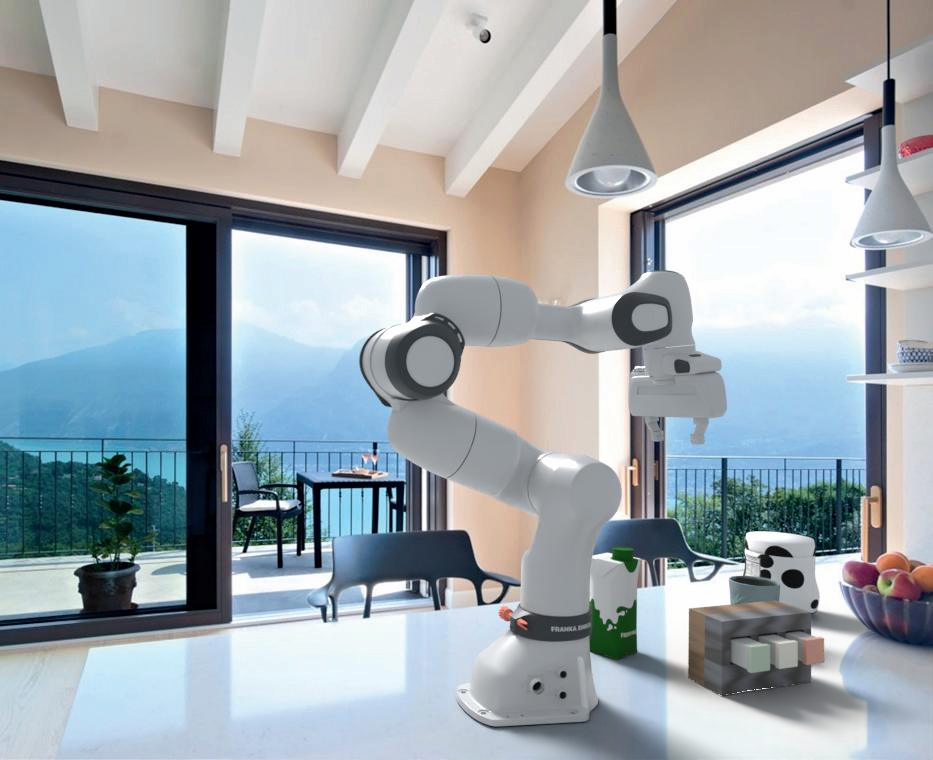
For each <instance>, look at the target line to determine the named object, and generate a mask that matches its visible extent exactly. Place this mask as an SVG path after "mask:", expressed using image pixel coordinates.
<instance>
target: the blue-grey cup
mask: <svg viewBox="0 0 933 760" xmlns="http://www.w3.org/2000/svg"><path fill="white" fill-rule="evenodd" d="M728 585H729V586H728V587H729V601H730V605H731V604H742V603H753V602H763V601H774V600H775V601H778V602H779V597H780V583H779V582H778V581H775V580H772V579H768V578H762V577H754V576H743V575H733V576H730V577H728Z"/></svg>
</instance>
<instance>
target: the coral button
mask: <svg viewBox="0 0 933 760" xmlns="http://www.w3.org/2000/svg"><path fill="white" fill-rule="evenodd" d="M785 639H788V640H790V641H791V640H795V641H797V642H798V660H800V661H802V662H803V664H805V665H811V666H812V665H815V664H816V665H817V664H823V663H825V638H824V637H822V636H815V635H812V634H811V635H809V634H806V633H804V632H801V631H796V632H787V633H785Z"/></svg>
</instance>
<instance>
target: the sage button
mask: <svg viewBox="0 0 933 760" xmlns="http://www.w3.org/2000/svg"><path fill="white" fill-rule="evenodd" d="M730 662H732V663H735V664H737V665H739V666H741V667H743V668H745V669H747V671H748V672H750V673H755V672H762V671H769V670H770V645H769V644H762V643H760V642H757V641H755V640H752V639H750V638H747V637H745V638H736V639H730Z"/></svg>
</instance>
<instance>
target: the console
mask: <svg viewBox="0 0 933 760" xmlns="http://www.w3.org/2000/svg"><path fill="white" fill-rule="evenodd" d="M796 631H801V632H804V633H806V634H809V635H812V615H811V612H809V611H806V610H803V609H800V608H797V607H794V606H791V605H787V604H784V603H781V602H778V601H775V600H774V601H763V602H753V603H742V604H731V603H730V604H722V605H711V606H701V607H690V608H688V652H687V653H688V656H687V659H688V661H687V662H688V663H687V664H688V665H687V667H688V669H687V670H688V671H687V676H688V677H687V679H689V678H690V679H691V681H692V680H694V681H695V683H696V682H697V683H696V684H698V683H699V684H698V685H700V686H702V687H703V686H704V687H703V688H705V687H706V688H705V689H707V688H708V689H707V690H709V689H710V690H709V691H711V690H712V691H711V692H713V691H714V692H716V693H718V694H720V695H726V694H732V693H737V692H742V691H747V690H754V689H755V690H756V689H762V688H770V689H772V688H771V687H777V688H780V687H779V686H783V687H786V686H785V685H790V686H793V685H792V684H796V685H800V684H799V683H802V684H808V682H809V683H812V664H811V665H805V664H803V662H802V661H800V660H798V666H797V667H790V668H783V669H778V668H776V667H775V665H773V664H771V663H770V670H769V671H762V672H755V673H750V672H748V671H747V669H745V668H743V667H741V666H739V665H737V664H735V663H732V662H730V639H736V638H745V637H747V638H750V639H752V640H755V641H757V642H758V636H762V635H770V634H775V635H777V636H780V637H783V638H785V633H787V632H796ZM690 679H689V680H690ZM694 681H693V682H694ZM714 692H713V693H714ZM716 693H715V694H716ZM718 694H717V695H718ZM720 695H719V696H720ZM732 695H733V694H732ZM726 696H727V695H726Z"/></svg>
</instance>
